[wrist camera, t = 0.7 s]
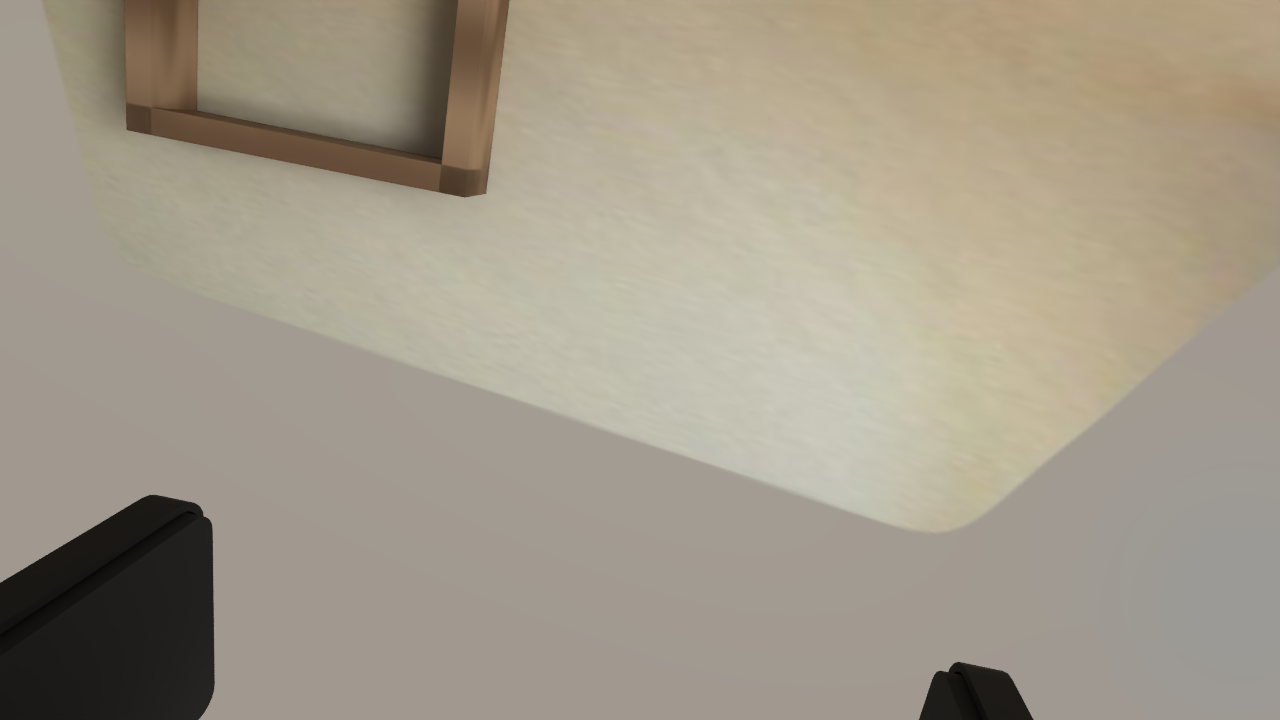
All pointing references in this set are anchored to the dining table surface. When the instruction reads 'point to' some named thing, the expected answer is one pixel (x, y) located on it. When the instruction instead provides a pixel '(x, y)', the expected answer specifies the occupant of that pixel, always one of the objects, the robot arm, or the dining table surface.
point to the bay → (169, 109)
